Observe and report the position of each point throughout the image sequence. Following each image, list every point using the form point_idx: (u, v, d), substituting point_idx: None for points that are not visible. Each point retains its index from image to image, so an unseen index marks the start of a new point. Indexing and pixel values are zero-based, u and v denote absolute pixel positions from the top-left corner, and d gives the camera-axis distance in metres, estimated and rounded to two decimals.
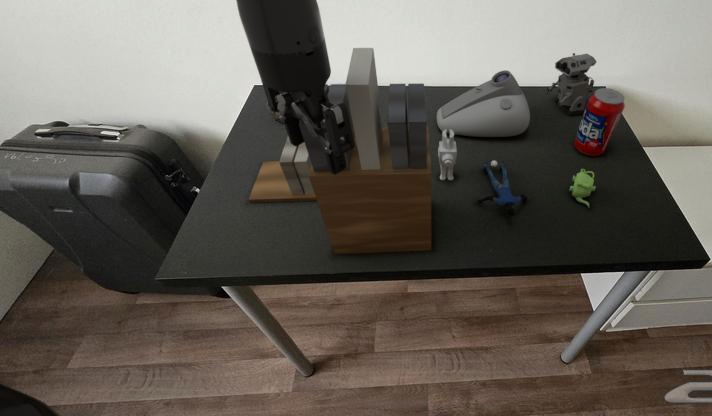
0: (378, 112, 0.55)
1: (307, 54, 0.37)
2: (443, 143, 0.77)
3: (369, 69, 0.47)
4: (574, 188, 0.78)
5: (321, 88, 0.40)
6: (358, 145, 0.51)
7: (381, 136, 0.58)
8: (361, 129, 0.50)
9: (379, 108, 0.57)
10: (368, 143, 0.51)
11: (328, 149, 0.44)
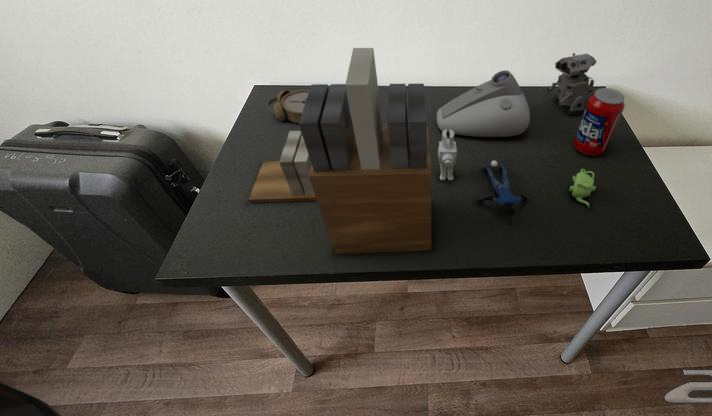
0: (378, 112, 0.55)
1: None
2: (443, 143, 0.77)
3: (369, 69, 0.47)
4: (574, 188, 0.78)
5: None
6: (358, 145, 0.51)
7: (381, 136, 0.58)
8: (361, 129, 0.50)
9: (379, 108, 0.57)
10: (368, 143, 0.51)
11: None
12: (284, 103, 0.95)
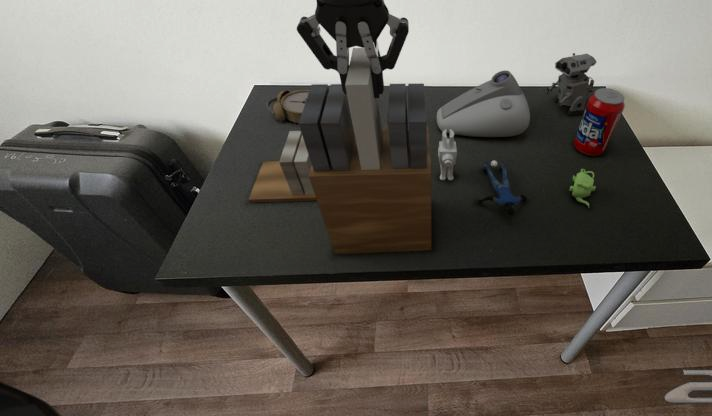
0: (378, 112, 0.55)
1: None
2: (443, 143, 0.77)
3: (369, 69, 0.47)
4: (574, 188, 0.78)
5: None
6: (358, 145, 0.51)
7: (381, 136, 0.58)
8: (361, 130, 0.50)
9: (379, 108, 0.57)
10: (368, 143, 0.51)
11: (379, 69, 0.47)
12: (284, 103, 0.95)
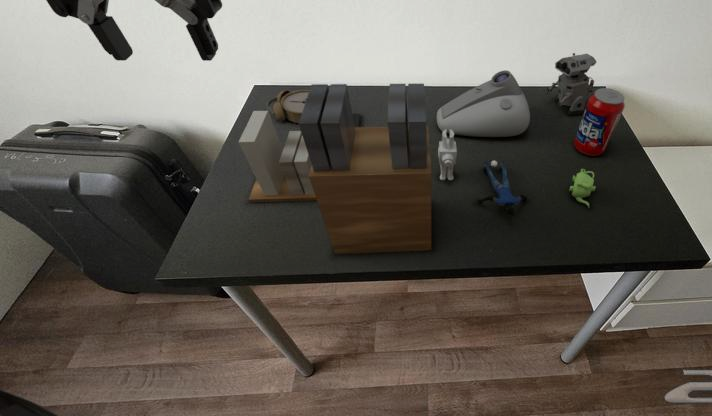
0: (277, 153, 0.77)
1: None
2: (443, 143, 0.77)
3: (259, 129, 0.69)
4: (574, 188, 0.78)
5: None
6: (257, 179, 0.73)
7: None
8: (257, 169, 0.71)
9: (280, 150, 0.78)
10: (264, 177, 0.73)
11: (193, 16, 0.35)
12: (284, 103, 0.95)
